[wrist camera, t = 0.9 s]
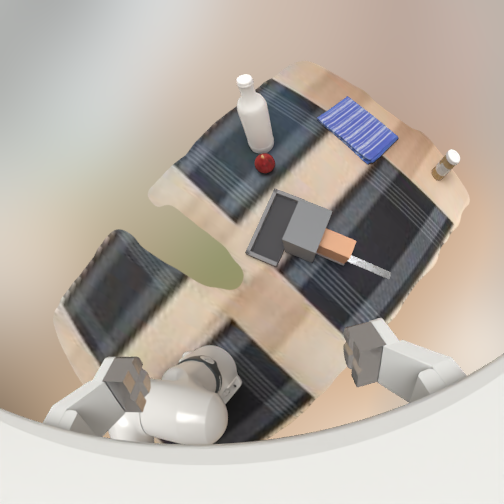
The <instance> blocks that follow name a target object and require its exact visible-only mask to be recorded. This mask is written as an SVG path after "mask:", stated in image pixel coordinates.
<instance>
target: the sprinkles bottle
mask: <svg viewBox="0 0 504 504" xmlns="http://www.w3.org/2000/svg"><path fill="white" fill-rule="evenodd" d="M459 161H460V156H459V154H458V153H457V152H456V151H455V150H453V149H450V150H449V151H448V152H447V153H446V155H445V156H444V157H443V159H441V161H440V162H439V163H438V164H437V165H436V167H435V168H433V170H432V175H433V177H434V178H435V179H436V180H441V179H442V178H443V177H444V176H445V175H446V174H447V173H448V172H449V171H450V170H451V169H452V168H453V167H454V166H455V165H457V164H458V163H459Z"/></svg>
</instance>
